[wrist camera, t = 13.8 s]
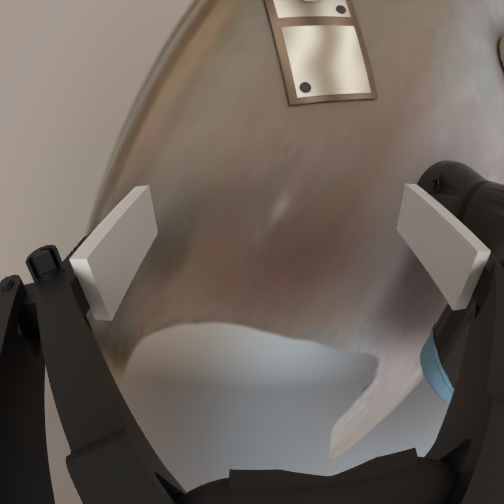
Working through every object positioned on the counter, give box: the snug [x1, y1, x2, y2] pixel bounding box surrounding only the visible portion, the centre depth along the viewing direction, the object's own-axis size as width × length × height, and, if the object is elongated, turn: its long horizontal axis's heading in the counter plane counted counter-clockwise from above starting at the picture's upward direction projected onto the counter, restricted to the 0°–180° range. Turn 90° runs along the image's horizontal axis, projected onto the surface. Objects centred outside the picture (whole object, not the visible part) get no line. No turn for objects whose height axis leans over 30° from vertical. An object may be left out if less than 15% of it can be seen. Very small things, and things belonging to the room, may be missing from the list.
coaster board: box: [263, 0, 377, 106], centre depth 28 cm, size 12×23×2 cm, turn 11°
